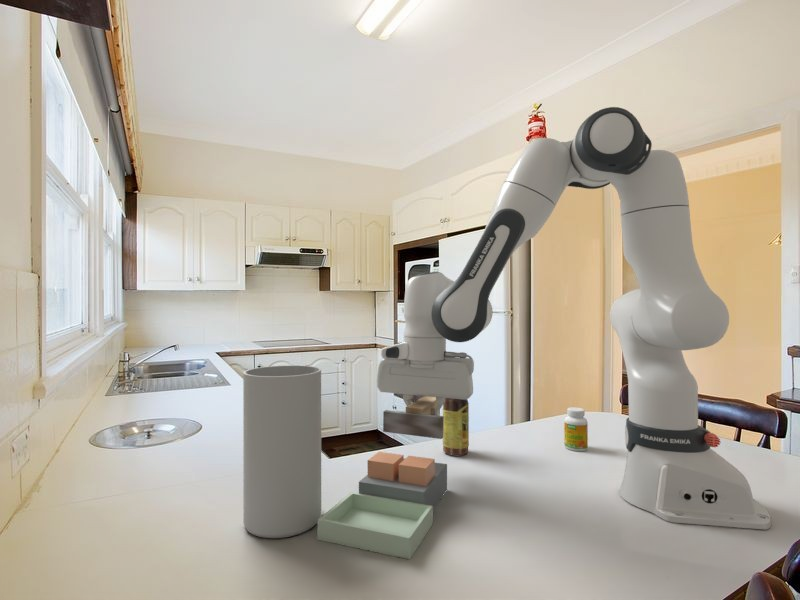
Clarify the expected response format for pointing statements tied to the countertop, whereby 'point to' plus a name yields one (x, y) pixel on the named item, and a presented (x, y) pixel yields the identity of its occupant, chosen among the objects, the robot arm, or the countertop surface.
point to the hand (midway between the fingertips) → (423, 416)
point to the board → (408, 488)
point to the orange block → (384, 466)
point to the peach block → (416, 470)
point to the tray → (376, 524)
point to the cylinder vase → (281, 450)
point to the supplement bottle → (576, 430)
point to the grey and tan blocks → (415, 420)
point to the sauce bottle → (456, 426)
